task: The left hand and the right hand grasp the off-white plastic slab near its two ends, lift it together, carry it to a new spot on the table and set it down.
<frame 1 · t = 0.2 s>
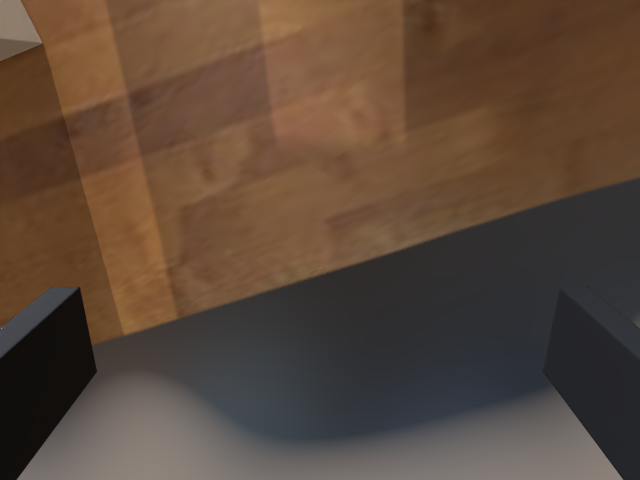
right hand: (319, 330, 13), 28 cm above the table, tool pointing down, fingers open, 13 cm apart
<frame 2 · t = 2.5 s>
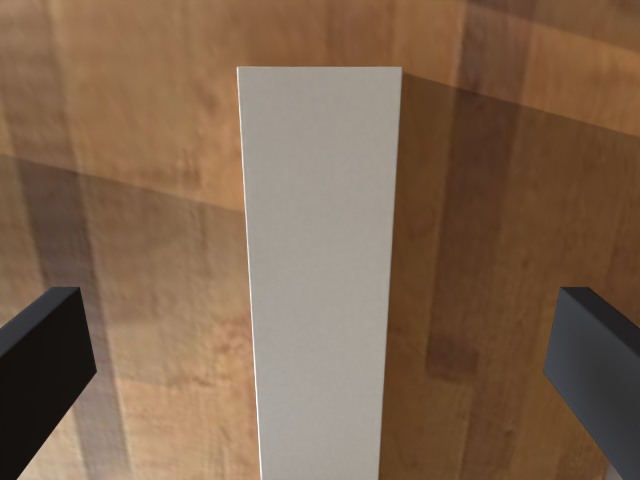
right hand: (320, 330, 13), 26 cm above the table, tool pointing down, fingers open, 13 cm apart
slab: (319, 398, 45), on the table, touching left hand
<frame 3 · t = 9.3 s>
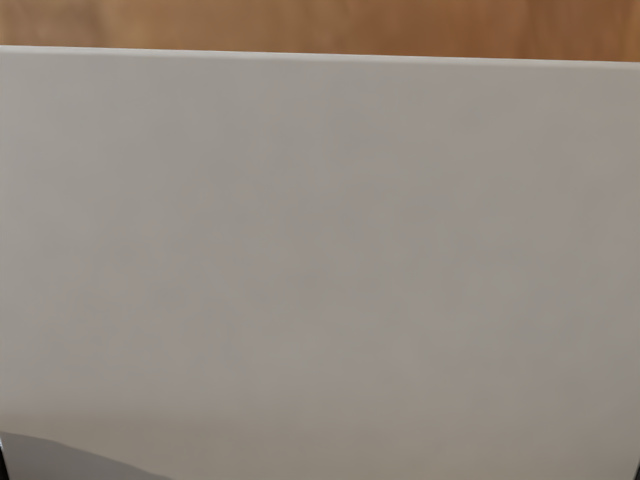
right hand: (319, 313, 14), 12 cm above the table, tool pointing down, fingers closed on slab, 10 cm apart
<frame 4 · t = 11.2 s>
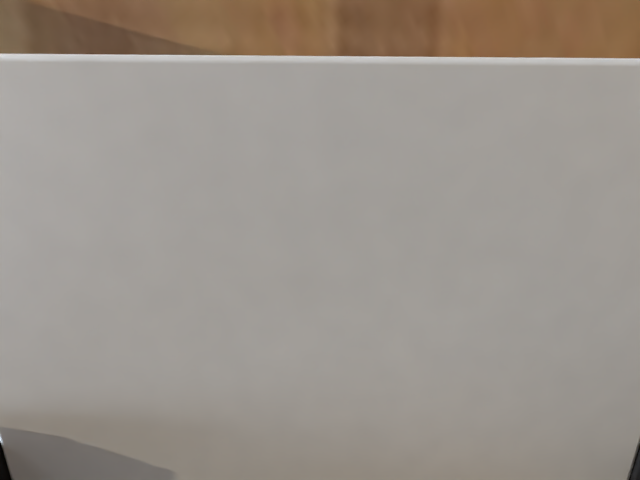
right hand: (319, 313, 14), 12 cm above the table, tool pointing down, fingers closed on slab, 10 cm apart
when the left hand's fingers open (2 cm above the table, at t = 12.9 s): slab stays where it is, on the table.
when the right hand's fingers open (2 cm above the table, at t = 12.9 s): slab stays where it is, on the table.
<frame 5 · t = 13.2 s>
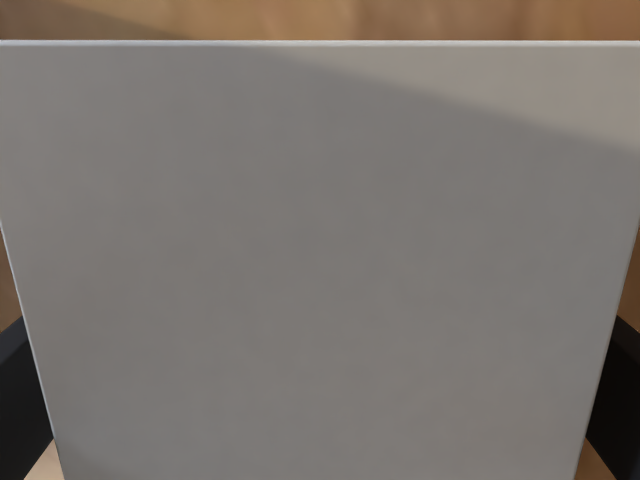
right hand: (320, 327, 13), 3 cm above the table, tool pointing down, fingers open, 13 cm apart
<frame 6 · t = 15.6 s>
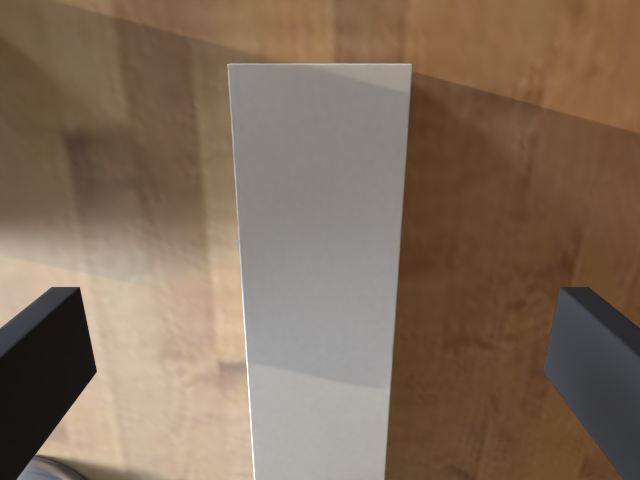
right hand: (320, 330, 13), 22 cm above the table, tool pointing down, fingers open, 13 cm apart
slab: (319, 419, 42), on the table
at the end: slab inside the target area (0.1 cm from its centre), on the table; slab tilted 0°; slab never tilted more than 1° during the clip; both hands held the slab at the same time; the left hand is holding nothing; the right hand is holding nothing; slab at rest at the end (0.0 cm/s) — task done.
